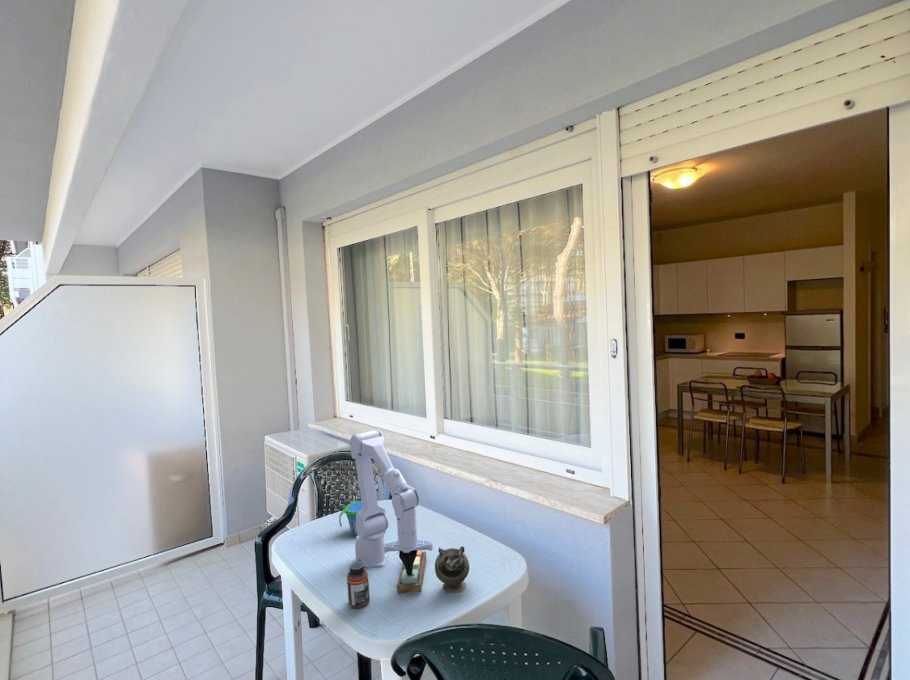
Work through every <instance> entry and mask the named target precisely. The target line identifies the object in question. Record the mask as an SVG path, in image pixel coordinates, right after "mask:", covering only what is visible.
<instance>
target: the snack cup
mask: <svg viewBox="0 0 910 680" xmlns="http://www.w3.org/2000/svg"><path fill="white" fill-rule="evenodd" d="M361 508H362V500H359V501H358V500H357V501H354V502H351V503H349V504H347V505H346V506H345V508H344V509H343V510H341V511H340V513H339V517H338V522H339V526H340V528H342V526H343V525H342V521H341V519H342V518H341V517H342V516H343V515H344V514H345V515H346V517H347V520H348V525H349V529H350V532H351V534H352V535H353V536H356V537H357V536H358V534H357V532H356V515H357V513H358V512H359V511H360V510H361Z"/></svg>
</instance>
